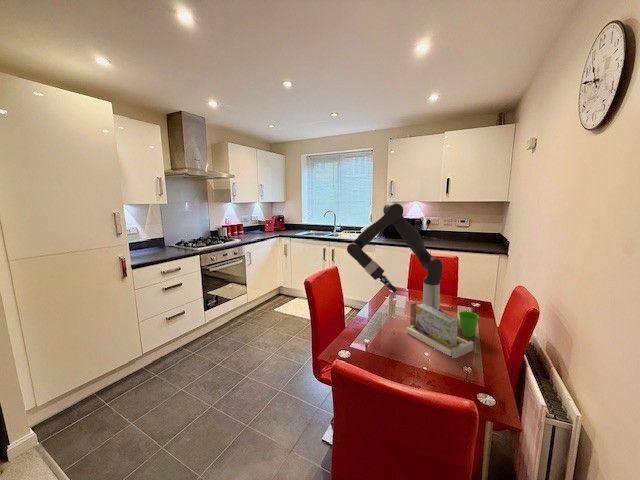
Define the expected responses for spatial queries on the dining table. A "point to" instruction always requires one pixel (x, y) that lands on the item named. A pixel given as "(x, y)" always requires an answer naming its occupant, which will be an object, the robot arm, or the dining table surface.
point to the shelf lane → (454, 353)
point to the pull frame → (413, 326)
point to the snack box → (436, 325)
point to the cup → (468, 323)
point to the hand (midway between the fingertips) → (394, 290)
